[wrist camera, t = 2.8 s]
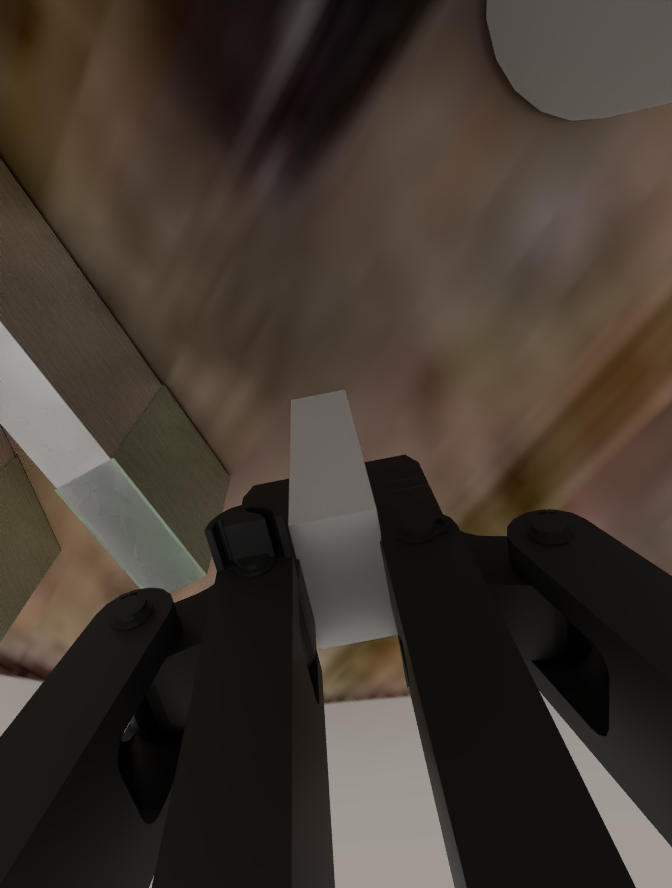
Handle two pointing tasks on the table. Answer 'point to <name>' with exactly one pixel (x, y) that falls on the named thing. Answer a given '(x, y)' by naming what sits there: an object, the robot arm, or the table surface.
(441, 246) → the table surface
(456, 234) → the table surface
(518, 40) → the can
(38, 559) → the base
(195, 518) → the tong jaw
